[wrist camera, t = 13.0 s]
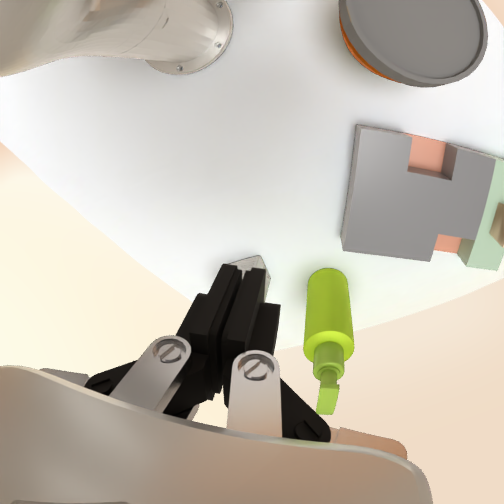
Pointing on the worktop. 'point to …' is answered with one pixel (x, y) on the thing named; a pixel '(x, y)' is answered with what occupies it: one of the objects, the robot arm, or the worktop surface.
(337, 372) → the soap dispenser
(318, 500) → the robot arm
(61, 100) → the worktop surface
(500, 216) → the maple block
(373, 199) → the board
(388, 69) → the reusable coffee cup
